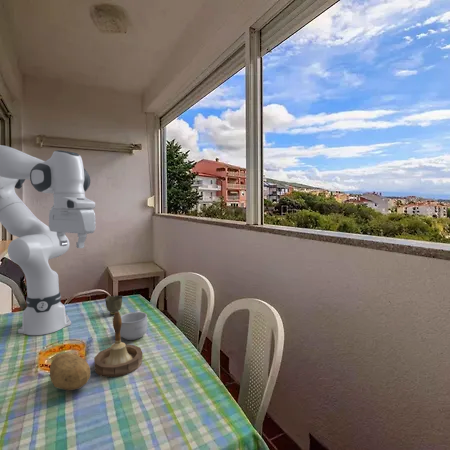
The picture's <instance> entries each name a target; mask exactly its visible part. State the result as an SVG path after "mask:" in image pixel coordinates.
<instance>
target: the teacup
mask: <svg viewBox="0 0 450 450" xmlns="http://www.w3.org/2000/svg"><path fill="white" fill-rule="evenodd" d="M120 316H121V319H122V326H121V330H120V336H121V337H120V338H123V339H124V340H126V341H136V340H138V339H140V338H142V337H143V336H144V335H145V334H146V333H147V330H148V314H147V313H146V312H143V311H140V310H136V311H135V312H134V311H133V312H128V313H125V314H122V315H120Z"/></svg>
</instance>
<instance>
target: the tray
mask: <svg viewBox="0 0 450 450" xmlns="http://www.w3.org/2000/svg"><path fill="white" fill-rule="evenodd" d="M125 345H126V349H127V352H128V354H129V355H131V356H132V358H133V359H131V360H129V361H128V362H125V363H121V364H116V365H109V364H105V362H106V360H107V359H108V358H109V355H110V349H111V346H110V347H107V348H105V349H103V350H101V351H100V352H98V353H97V354H96V355H95V356H94V357H93V362H94V363H93V364H94V372H95V373H96V374H97V375H98V376H100V377H102V378H103V377H104V378H117V377H122V376H125V375H129V374H131V373H133V372H135V371H136V370H138V368H140V366H141V365H142V364H143V363H142V362H143V359H144V358H143V350H142V349H141V347H139V346H136V345H134V344H125Z"/></svg>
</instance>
